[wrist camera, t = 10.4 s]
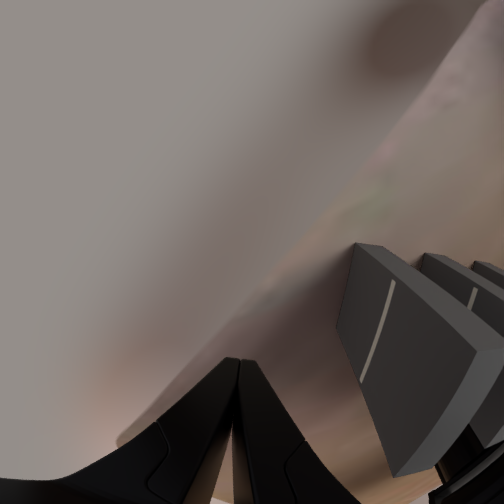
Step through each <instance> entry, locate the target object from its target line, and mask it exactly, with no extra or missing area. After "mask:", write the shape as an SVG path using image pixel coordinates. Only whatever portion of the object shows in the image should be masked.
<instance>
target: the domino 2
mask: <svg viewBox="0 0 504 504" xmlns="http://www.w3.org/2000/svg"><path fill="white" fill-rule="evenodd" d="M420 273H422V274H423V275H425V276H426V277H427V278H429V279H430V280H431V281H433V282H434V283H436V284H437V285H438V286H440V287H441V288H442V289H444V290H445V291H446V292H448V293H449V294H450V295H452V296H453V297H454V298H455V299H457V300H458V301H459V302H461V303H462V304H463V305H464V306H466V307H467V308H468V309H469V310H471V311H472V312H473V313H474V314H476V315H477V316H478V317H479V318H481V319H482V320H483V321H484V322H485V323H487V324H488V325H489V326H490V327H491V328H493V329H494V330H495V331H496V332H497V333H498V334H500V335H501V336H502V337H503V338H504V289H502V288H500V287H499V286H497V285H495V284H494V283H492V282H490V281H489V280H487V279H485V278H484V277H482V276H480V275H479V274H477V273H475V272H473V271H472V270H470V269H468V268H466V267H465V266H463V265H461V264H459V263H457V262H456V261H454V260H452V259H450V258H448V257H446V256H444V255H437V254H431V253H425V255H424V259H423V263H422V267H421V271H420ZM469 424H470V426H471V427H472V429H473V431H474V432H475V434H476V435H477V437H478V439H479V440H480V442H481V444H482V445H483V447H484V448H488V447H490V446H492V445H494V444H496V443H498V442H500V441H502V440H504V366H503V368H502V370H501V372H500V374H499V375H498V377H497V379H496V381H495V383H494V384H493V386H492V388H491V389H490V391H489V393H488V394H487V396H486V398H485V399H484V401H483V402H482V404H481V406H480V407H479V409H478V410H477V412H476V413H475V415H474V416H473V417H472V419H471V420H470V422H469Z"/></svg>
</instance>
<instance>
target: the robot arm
mask: <svg viewBox="0 0 504 504" xmlns="http://www.w3.org/2000/svg"><path fill="white" fill-rule="evenodd" d="M233 415H234V416H233ZM232 423H233V425H232ZM231 429H232V461H233V492H234V504H361V503H360V502H359V501H358V500H357V499H356V498H355V497H354V496H353V495H352V494H351V493H350V492H349V491H348V490H347V489H346V488H345V487H344V486H343V485H342V484H341V483H340V482H339V481H338V480H337V479H336V478H335V477H334V476H333V475H332V474H331V472H330V471H329V470H328V469H327V468H326V467H325V466H324V464H323V463H322V462H321V460H320V459H319V458H318V456H317V455H316V454H315V452H314V451H313V450H312V448H311V447H310V445H309V444H308V442H307V441H305V438H304V436H303V435H302V433H301V432H300V430H299V429H298V427H297V426H296V424H295V423H294V421H293V420H292V418H291V417H290V415H289V414H288V412H287V411H286V409H285V407H284V406H283V404H282V403H281V401H280V400H279V398H278V396H277V395H276V393H275V392H274V390H273V388H272V387H271V385H270V384H269V382H268V380H267V379H266V377H265V376H264V374H263V372H262V371H261V369H260V367H259V366H258V364H257V362H256V361H254V360H247V359H242V360H241V361H240V359H238V358H231V357H226V358H224V359H223V360H222V361H221V362H220V363H219V364H218V365H217V366H216V367H215V368H214V369H212V370H211V371H210V372H209V373H208V374H207V375H206V376H205V377H204V378H203V379H202V380H201V381H200V382H198V383H197V384H196V385H195V386H194V387H193V388H192V389H191V390H190V391H189V392H187V393H186V394H185V395H184V396H183V397H182V398H181V399H180V400H179V401H177V402H176V403H175V404H174V405H173V406H172V407H171V408H170V409H168V410H167V411H166V412H165V413H164V414H163V415H161V416H160V417H159V418H158V419H157V420H156V422H153V423H152V424H151V425H150V426H148V427H147V428H146V429H145V430H144V431H142V432H141V433H140V434H138V435H137V436H136V437H135V438H133V439H132V440H131V441H129V442H128V443H126V444H124V445H123V446H121V447H120V448H118V449H117V450H115V451H113V452H112V453H110V454H108V455H107V456H105V457H103V458H101V459H100V460H98V461H96V462H94V463H92V464H91V465H89V466H87V467H85V468H83V469H81V470H79V471H78V472H76V473H74V474H71V475H69V476H66V477H63V478H59V479H55V480H19V479H7V478H0V504H210V501H211V498H212V494H213V491H214V488H215V485H216V481H217V478H218V475H219V472H220V468H221V465H222V461H223V458H224V455H225V451H226V448H227V444H228V441H229V438H230V434H231ZM434 466H435V468H436V470H437V472H438V475H439V477H440V479H441V482H442V484H443V485H442V486H440V487H439V488H437V489H436V490H433V491H431V492H430V493H428V496H429V504H504V440H502V441H500V442H498V443H496V444H494V445H492V446H490V447H488V448H484V447H483V445H482V444H481V442H480V440H479V439H478V437H477V435H476V434H475V432H474V431H473V429H472V427H471V426H470V424H469V423H468V424H467V426H466V427H465V429H464V430H463V431H462V433H461V434H460V435H459V437H458V438H457V439H456V440H455V442H454V443H453V444H452V445H451V447H450V448H449V449H448V450H447V452H446V453H445V454H444V455H443V456H442V457H441V459H440V460H439V461H438V462H437V463H436V464H435V465H434Z"/></svg>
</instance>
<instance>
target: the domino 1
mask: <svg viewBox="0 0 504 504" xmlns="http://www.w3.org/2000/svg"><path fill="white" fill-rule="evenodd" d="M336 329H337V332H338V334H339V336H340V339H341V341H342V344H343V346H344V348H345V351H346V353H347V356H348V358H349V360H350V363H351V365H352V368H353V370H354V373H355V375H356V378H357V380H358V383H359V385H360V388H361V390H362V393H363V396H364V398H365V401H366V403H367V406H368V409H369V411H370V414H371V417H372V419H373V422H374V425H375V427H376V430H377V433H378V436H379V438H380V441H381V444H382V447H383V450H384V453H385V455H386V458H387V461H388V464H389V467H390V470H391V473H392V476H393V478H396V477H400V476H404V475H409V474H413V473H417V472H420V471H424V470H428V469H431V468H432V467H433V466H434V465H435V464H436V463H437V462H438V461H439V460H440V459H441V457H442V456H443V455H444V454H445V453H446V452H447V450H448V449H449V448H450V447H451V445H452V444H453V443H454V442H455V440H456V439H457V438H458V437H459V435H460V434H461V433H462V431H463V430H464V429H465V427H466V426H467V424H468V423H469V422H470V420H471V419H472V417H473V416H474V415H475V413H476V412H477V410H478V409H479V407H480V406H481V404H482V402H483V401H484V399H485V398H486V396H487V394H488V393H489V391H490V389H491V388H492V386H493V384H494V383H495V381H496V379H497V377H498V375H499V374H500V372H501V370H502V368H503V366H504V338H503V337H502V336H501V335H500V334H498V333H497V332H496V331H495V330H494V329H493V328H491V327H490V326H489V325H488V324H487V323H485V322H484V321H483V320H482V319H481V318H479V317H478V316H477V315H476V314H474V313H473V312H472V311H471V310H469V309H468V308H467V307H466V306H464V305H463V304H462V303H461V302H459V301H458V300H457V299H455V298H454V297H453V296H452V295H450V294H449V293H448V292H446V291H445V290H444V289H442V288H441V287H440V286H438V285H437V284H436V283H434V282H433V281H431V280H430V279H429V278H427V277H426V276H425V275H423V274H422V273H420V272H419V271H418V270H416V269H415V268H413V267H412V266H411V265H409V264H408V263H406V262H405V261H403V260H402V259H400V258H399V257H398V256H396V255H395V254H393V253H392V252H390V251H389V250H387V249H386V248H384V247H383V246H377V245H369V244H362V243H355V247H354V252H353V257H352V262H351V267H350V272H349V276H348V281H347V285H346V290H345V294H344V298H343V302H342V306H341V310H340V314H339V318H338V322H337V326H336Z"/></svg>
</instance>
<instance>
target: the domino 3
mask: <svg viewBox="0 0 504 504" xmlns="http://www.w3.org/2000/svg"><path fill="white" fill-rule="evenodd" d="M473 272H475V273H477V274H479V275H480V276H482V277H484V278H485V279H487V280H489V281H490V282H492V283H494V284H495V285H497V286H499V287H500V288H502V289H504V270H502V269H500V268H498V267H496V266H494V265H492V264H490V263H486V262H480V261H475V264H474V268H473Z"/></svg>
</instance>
